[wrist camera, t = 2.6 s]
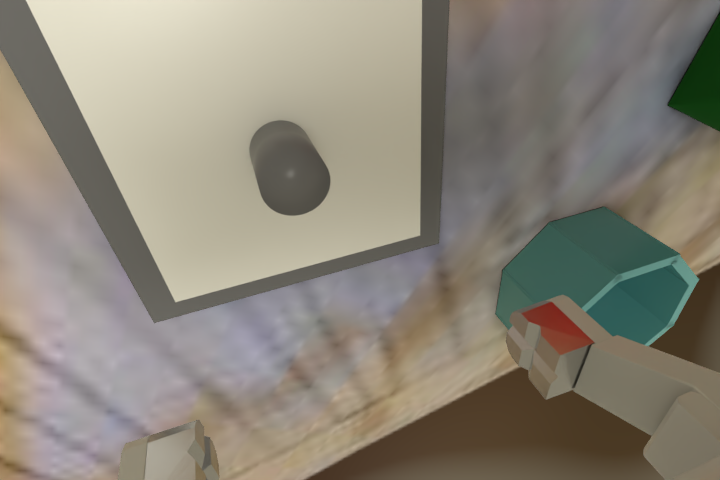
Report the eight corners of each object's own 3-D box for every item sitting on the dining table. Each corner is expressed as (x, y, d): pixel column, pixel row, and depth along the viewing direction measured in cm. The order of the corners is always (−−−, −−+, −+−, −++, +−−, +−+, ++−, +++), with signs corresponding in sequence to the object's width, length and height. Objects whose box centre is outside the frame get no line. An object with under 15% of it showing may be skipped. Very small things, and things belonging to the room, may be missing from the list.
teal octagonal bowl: (640, 195, 36) (721, 240, 30) (600, 302, 43) (658, 353, 38) (508, 233, 33) (570, 289, 27) (490, 340, 41) (536, 400, 35)
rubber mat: (448, -112, 19) (454, -113, 18) (435, 239, 31) (439, 243, 30) (-60, -69, 15) (-67, -70, 14) (154, 317, 27) (154, 323, 26)
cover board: (412, -53, 19) (468, -54, 15) (414, 227, 29) (448, 271, 25) (30, -10, 16) (-22, 4, 12) (175, 291, 25) (173, 353, 22)
